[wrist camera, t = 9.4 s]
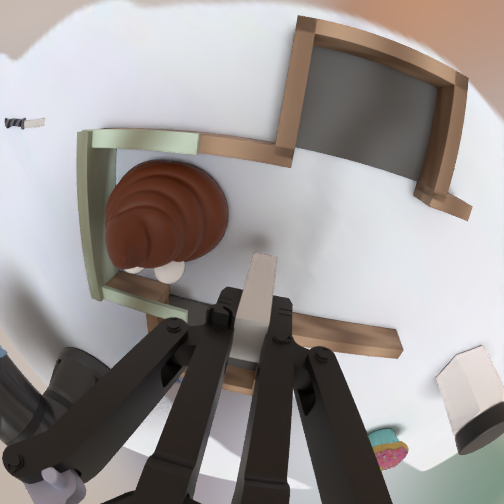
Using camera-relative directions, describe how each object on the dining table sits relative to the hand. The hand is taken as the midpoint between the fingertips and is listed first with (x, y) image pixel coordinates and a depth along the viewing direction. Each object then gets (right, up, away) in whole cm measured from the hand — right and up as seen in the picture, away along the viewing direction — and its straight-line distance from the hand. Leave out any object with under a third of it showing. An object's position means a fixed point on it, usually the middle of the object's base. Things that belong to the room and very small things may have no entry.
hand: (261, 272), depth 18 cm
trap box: (0, +2, +4) cm, 5 cm away
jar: (+28, -14, +8) cm, 32 cm away
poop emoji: (-7, +5, +4) cm, 10 cm away
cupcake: (+21, -29, +16) cm, 39 cm away
